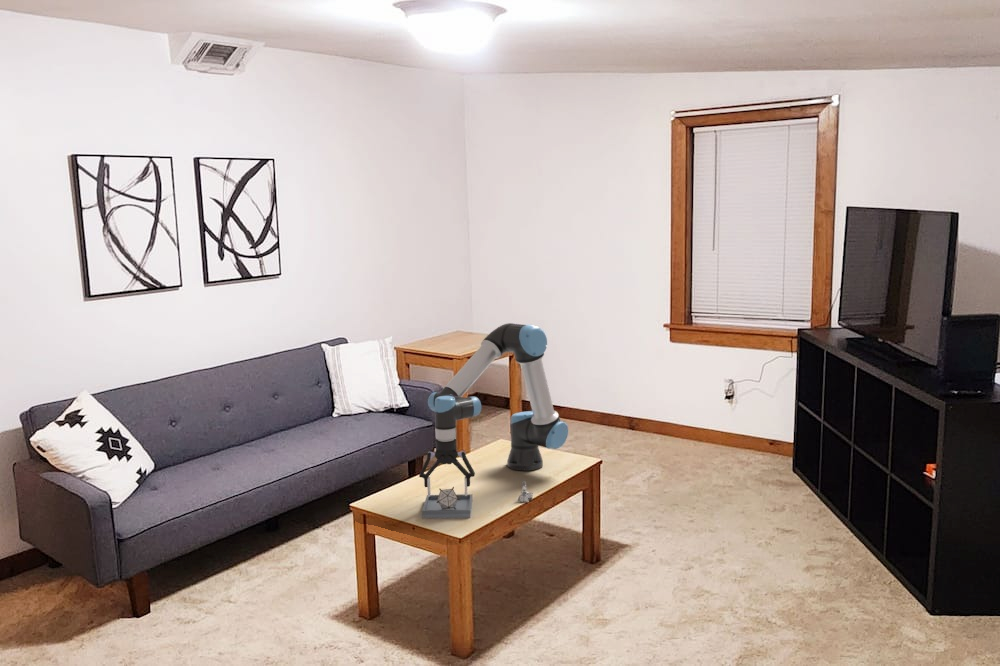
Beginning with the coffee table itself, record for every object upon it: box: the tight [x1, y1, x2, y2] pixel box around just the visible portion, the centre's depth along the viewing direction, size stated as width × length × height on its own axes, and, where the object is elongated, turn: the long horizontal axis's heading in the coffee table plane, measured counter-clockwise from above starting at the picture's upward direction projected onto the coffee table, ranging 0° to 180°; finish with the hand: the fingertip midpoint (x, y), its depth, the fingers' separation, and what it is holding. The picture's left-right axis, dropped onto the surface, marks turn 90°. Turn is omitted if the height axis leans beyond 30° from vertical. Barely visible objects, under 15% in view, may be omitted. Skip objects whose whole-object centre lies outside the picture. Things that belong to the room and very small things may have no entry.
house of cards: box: [518, 481, 534, 504], centre depth 312 cm, size 9×9×8 cm
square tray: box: [421, 493, 474, 519], centre depth 305 cm, size 17×17×3 cm
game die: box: [436, 486, 460, 510], centre depth 299 cm, size 9×8×10 cm
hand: (447, 495), depth 304 cm, fingers open, 13 cm apart
